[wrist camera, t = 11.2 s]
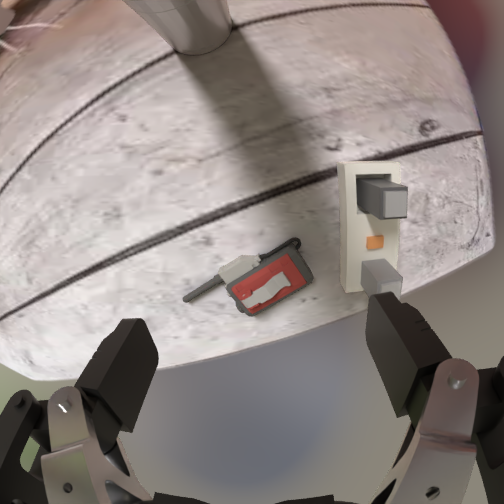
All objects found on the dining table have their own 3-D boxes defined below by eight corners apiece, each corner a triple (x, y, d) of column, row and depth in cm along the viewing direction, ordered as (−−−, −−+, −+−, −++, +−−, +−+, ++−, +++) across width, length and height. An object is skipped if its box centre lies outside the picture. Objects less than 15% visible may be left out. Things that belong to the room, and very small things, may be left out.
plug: (355, 178, 33) (382, 188, 25) (379, 177, 33) (410, 187, 25) (356, 204, 35) (382, 221, 27) (379, 203, 34) (409, 219, 26)
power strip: (336, 162, 34) (363, 168, 24) (388, 160, 33) (426, 168, 24) (339, 281, 40) (359, 319, 31) (385, 275, 40) (413, 309, 30)
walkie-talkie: (288, 222, 37) (181, 291, 42) (292, 231, 33) (173, 306, 38) (319, 269, 40) (215, 328, 45) (325, 283, 36) (211, 345, 41)
